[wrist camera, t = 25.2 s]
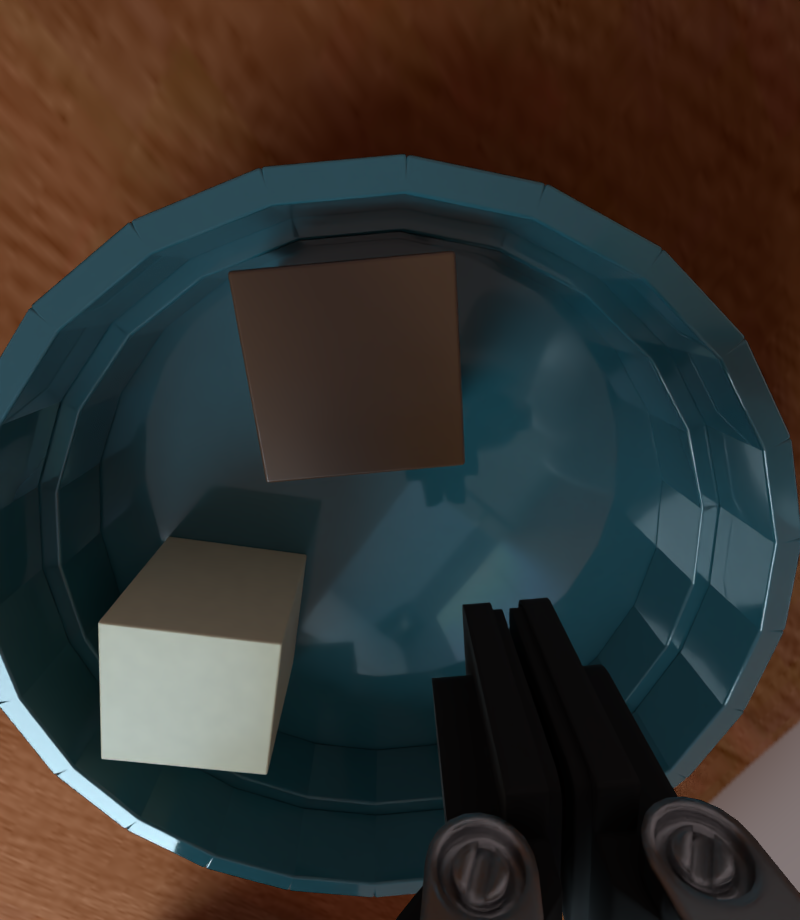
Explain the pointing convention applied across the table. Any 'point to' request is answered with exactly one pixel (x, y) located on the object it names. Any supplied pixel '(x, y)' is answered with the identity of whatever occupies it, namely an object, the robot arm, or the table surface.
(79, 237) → the table surface
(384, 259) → the walnut block
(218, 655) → the cream block
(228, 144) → the table surface
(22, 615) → the bowl
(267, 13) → the table surface
